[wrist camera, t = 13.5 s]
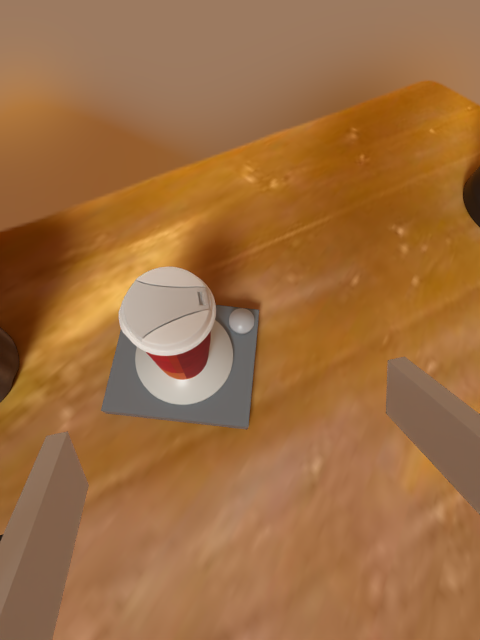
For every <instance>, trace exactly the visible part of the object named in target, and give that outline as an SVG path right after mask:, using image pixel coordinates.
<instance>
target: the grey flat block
mask: <svg viewBox="0 0 480 640" xmlns="http://www.w3.org/2000/svg"><path fill="white" fill-rule="evenodd" d="M258 318H259V310H256V309H247V308H238V307H230V306H221V305H216V317H215V321H214V324H213V327H212V329H211V340H210V347H209V355H208V360H207V363H206V366H205V367H204V369H203V370H202V371H201V372H200V373H199V374H198V375H197V376H195V377H193V378H190V379H185V380H179V379H175V378H172V377H170V376H168V375H167V374H166V373H165V372H164V371H163V370H162V369H161V368H160V367H159V366H158V365H157V364H156V363H155V362H154V361H153V360H152V359H151V357H150V356H149V355H148V354H147V353H146V352H145V351H143V350H141V349H140V348H138V347H137V346H136V345H134V344H133V343H132V342H131V341H130V339H129V338H128V337H127V336H126V335H125V334H124V333H123V332H122V329H121V332H120V336H119V340H118V344H117V348H116V352H115V356H114V360H113V364H112V368H111V372H110V376H109V380H108V384H107V388H106V393H105V397H104V401H103V405H102V409H101V411H103V412H105V413H108V414H117V415H126V416H135V417H143V418H152V419H161V420H170V421H178V422H187V423H196V424H205V425H213V426H222V427H231V428H240V429H248V425H249V415H250V404H251V393H252V382H253V371H254V361H255V350H256V339H257V328H258Z"/></svg>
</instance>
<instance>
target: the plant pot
mask: <svg viewBox="0 0 480 640" xmlns="http://www.w3.org/2000/svg"><path fill="white" fill-rule="evenodd" d="M18 368H19V356H18V351H17V348H16V346H15V344H14V341H13V340H12V339H11V337H10V336H9V335H8V334H7V333H6V332H5V331H4V330H3V329H2V328H0V402H1V401H2V400H3V399H4V397H5V396H6V395H7V394H8V392H9V391H10V389H11V387H12V382H13V379H14V377H15V374H16V372H17V371H18Z"/></svg>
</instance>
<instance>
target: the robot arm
mask: <svg viewBox="0 0 480 640" xmlns="http://www.w3.org/2000/svg"><path fill="white" fill-rule="evenodd" d="M464 202H465V205H466V208H467V210H468V212H469V214H470V215H471V217H472V218H473V220H474V221H475V222H476V223H477V224H478V225H479V226H480V167H478V168H477V170H476V171H475V172H474V173H473V174H472V176H471V177H470V178H469V179H468V181H467V182H466V184H465V187H464ZM386 414H387V415H388V416H389V417H390V418H391V419H392V420H393V421H394V422H395V423H396V425H397V426H398V427H399V428H400V429H401V430H402V431H403V432H404V433H405V434H406V435H407V436H408V438H409V439H410V440H411V441H412V442H413V443H414V444H415V445H416V446H417V447H418V448H419V449H420V451H421V452H422V453H423V454H424V455H425V456H426V457H427V458H428V459H429V460H430V461H431V462H432V464H433V465H434V466H435V467H436V468H437V469H438V470H439V471H440V472H441V473H442V474H443V475H444V477H445V478H446V479H447V480H448V481H449V482H450V483H451V484H452V485H453V486H454V487H455V488H456V490H457V491H458V492H459V493H460V494H461V495H462V496H463V497H464V498H465V499H466V500H467V501H468V503H469V504H470V505H471V506H472V507H473V508H474V509H475V510H476V511H477V512H478V513H479V514H480V414H479V413H477V412H476V411H475V410H473V409H472V408H471V407H469V406H468V405H467V404H466V403H464V402H463V401H462V400H460V399H459V398H458V397H456V396H455V395H454V394H453V393H451V392H450V391H449V390H447V389H446V388H445V387H443V386H442V385H441V384H439V383H438V382H437V381H436V380H434V379H433V378H432V377H430V376H429V375H428V374H426V373H425V372H424V371H423V370H421V369H420V368H419V367H417V366H416V365H415V364H413V363H412V362H411V361H409V360H408V359H407V358H406V357H401V358H396V359H392V360H388V370H387V398H386ZM88 486H89V485H88V482H87V480H86V477H85V474H84V472H83V469H82V467H81V464H80V462H79V459H78V457H77V454H76V452H75V449H74V447H73V444H72V441H71V439H70V436H69V434H68V431H67V432H63V433H58V434H54V435H49V436H46V438H45V441H44V443H43V445H42V447H41V450H40V452H39V454H38V457H37V459H36V461H35V463H34V466H33V468H32V470H31V473H30V475H29V477H28V479H27V482H26V484H25V486H24V489H23V491H22V493H21V495H20V498H19V500H18V502H17V505H16V507H15V509H14V511H13V514H12V516H11V518H10V521H9V523H8V525H7V527H6V530H5V532H4V534H3V535H0V640H52V638H53V634H54V630H55V626H56V621H57V617H58V613H59V609H60V604H61V600H62V596H63V592H64V587H65V583H66V579H67V575H68V570H69V566H70V562H71V558H72V553H73V549H74V545H75V541H76V536H77V532H78V528H79V524H80V519H81V515H82V511H83V507H84V502H85V498H86V494H87V490H88Z"/></svg>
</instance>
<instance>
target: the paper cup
mask: <svg viewBox="0 0 480 640" xmlns="http://www.w3.org/2000/svg"><path fill="white" fill-rule="evenodd" d="M215 317H216V304H215V300H214V296H213V294H212V292H211V290H210V289H209V287H208V286H207V285H206V284H205V283H204V282H203V281H202V280H201V279H200V278H198V277H197V276H195V275H194V274H193V273H191V272H189V271H187V270H184V269H181V268H176V267H161V268H156V269H153V270H150V271H148V272H146V273H144V274H142V275H141V276H140V277H138V278H137V279H136V280H135V282H134V283H133V284H132V286H131V287H130V289H129V290H128V292H127V294H126V295H125V297H124V300H123V302H122V304H121V308H120V310H119V322H120V326H121V329H122V332H123V333H124V334H125V335H126V336H127V337H128V338H129V339H130V341H131V342H132V343H133V344H134V345H136V346H137V347H138V348H140V349H141V350H143V351H145V352H146V353H147V354H148V355H149V356H150V357H151V359H152V360H153V361H154V362H155V363H156V364H157V365H158V366H159V367H160V368H161V369H162V370H163V371H164V372H165V373H166V374H167V375H168V376H170V377H172V378H175V379H179V380H185V379H190V378H193V377H195V376H197V375H198V374H199V373H200V372H201V371H202V370H203V369H204V367H205V366H206V363H207V360H208V355H209V347H210V340H211V329H212V327H213V324H214V321H215Z"/></svg>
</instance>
